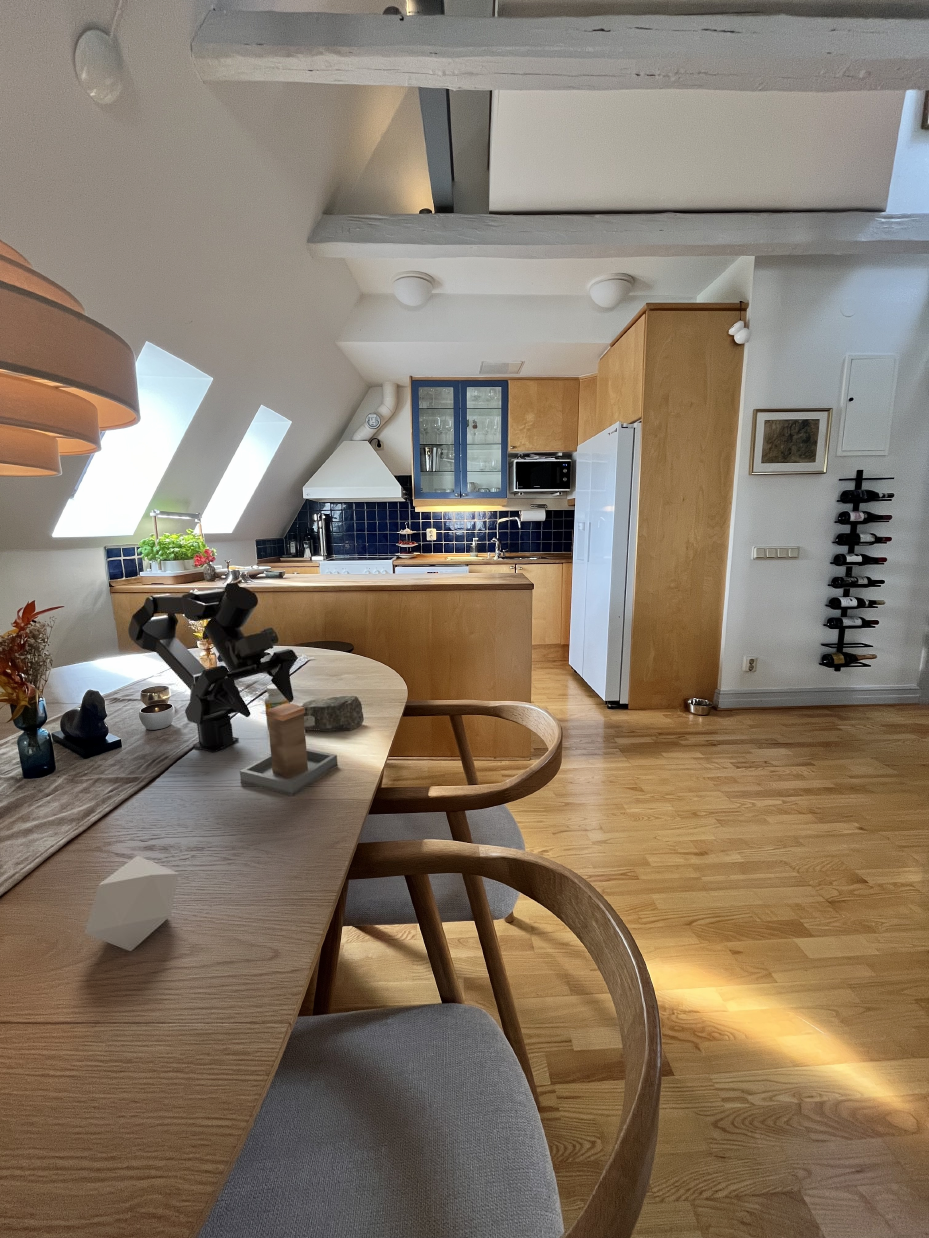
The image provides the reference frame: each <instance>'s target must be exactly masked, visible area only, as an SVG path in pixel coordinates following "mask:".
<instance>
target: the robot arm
mask: <svg viewBox="0 0 929 1238" xmlns="http://www.w3.org/2000/svg"><path fill="white" fill-rule="evenodd" d="M258 603H259V599H258V596H257V594H256V593H255V592H253V591H251V590H250V589H249V588H247V587H243V586H240V585H239V583H238V582H227V583H226V584H225V587H224V589H221V588H216V589H206V590H198V591H190V592H188V593H187V592H186V593H185V594H170V593H163V594H155V595H153V594H152V595H149V596H148V597H146V599H145V600H144V604H143V605H142V606H141V607H140V608H139V609H138V610H137V611H136V612H135V613H133V615H132V616H131V619H130V621H129V626H128V630H127V631H128V635H129V638H130V640H131V641H133V643H134V644H135V645H137V646H139V648H141V649H142V650H145V651H150V652H153V653H156V654H157V655H158V656H159V658H160V659H162V660H163V661H164V663H165V664H166V665H167V666H168V667H169V668H170V669H171V670H172V671H173V672H174V674H175V675H177V677H178V679H180V680H181V681H182V683H184V685H186V687H187V688H188V689H189V690H190V691H189V692H190V694H189V702H188V704H187V706H186V708H185V709H184V713H185V717H186V720H187V721H188V722H190V723H193V724H196V727H197V735H198V742H196V743H194V744H192V748H194V749H198V750H203V751H207V752H210V753H211V752H212V753H215V752H218V751H219V750H222V749H224V748H226V747H228V746H230V745H232V744H234V743H237V742H239V740H240V739H239V737H235V736H234V735H233V734H234V733H233V726H232V725H233V724H232V722H231V721H232V719H231V715H232V714H237V713H239V714H240V715H241V716H244V717H245V718H249V717H250V716H251V712H250V709H249V707H248V705H247V703H246V702H245V701H244V699H243V696H242V695H241V692H240V690H239V688H238V686H237V685H236V683H235V681H237V680H241V679H245V678H247V677H249V678H250V677H252V676H255V675H259V674H263V673H265V672H266V674H267V675H268V676H269V677H271V679H270V682H271V684H274V685H275V686H276V687H277V689H278V690H279V691H280V692H281V693H282V695H283V696H284V697H285V698H286V699H287V700H288V701H289V702H290V703H292V702H293V701H294V693H293V687H292V683H291V670H292V667H293V666H294V665H295V663H296V662H297V660H298V659H299V657H298V655H297V654H296V652H295V650H293V649H291V648H287V649H286V648H285V649H282V650H278V651H274V652H273V653H272V654H271V656H270V658H269V660H267V661H266V660H265V661H262V659H264V658H265V657H266V651H268V650H270V649H271V650H272V649H274V645H276V644H278V642H279V636H278V633H277V632H276V631H275V629H274V628H273V627H269V628H268V627H267V628H263V630H260V632H259V633H258V632H257V633H254V634H249V635H245V633H244V632H243V629H242V628H243V627H244V626H246V624H247V623H248V622H249V620H250V617H251V616H252V615H253V613H254V610H255V609H256V607H257V606H258ZM157 614H163V615H157ZM164 614H166V615H164ZM155 615H157V616H155ZM177 615H184V618H185V619H187V620H190V621H193V622H200V621H202V622H203V621H206V620H207V623H206V625H204V626H203V632H202V640H203V641H206V640H210V642H211V643H212V645H213V647H214V648H215V650H216V652H217V653H218V655H217V657H216V659H217V661H218V663H222V662H223V663H224V664H225V665H217V666H213V667H211V668H206V667H205V666H204V665H203V664H202V662H200V661H199V660H198V659H197V658H196V656H194V654H193V653H192V652H191V651H190V650H189V649H188V648H187V647H186V646H185V645H184V644H183V643H182V642H181V641H180V640H179V639H178V638H177V637H176V633H177V626H178V624H179V619H178V618H177Z"/></svg>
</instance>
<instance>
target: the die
mask: <svg viewBox="0 0 929 1238" xmlns="http://www.w3.org/2000/svg"><path fill="white" fill-rule="evenodd" d="M179 874H180V873H178V872H176V871H174V870H171V869H170V868H167V867H165V866H162V865H160V864H158V863H155V862H153V861H151V860H148V859H147V858H144V857H142V856H140V855H136V856H135V857H134V858H132V859H131V860H129V861H128V862H127V863H125V864H124V865H123V866H122V867H120V868H119V869H118V870H116V871H115V872H114V873H112V874H111V875H109V876H108V877H107V878H106V879H104V880H102V882H100V883H99V884H98V885H97V890H96V892H95V896H94V899H93V903H92V906H91V910H90V913H89V917H88V920H87V924H86V926H85V927H86V928H85V931H84V934H85V935H88V936H91V937H93V938H95V939H99V941H100V940H101V941H103V942H106V943H108V944H111V945H113V946H115V947H119V948H120V949H123V950H126V951H129V952H132V951H133V950H134V949H135V948H136V947H138V946H139V945H140V944H141V943H142V942H143V941H144V940H145V939H147V938H148V937H149V936H150V935H151V934H152V933H153V932H154V931H155V930H156V929H157V928H159V927H160V926H161V925H162V924H163V923H164V922H165V921H167V920H168V918H170V917H171V916H172V911H173V906H174V900H175V896H176V891H177V890H176V889H177V884H178V881H179V880H178V879H179Z"/></svg>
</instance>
